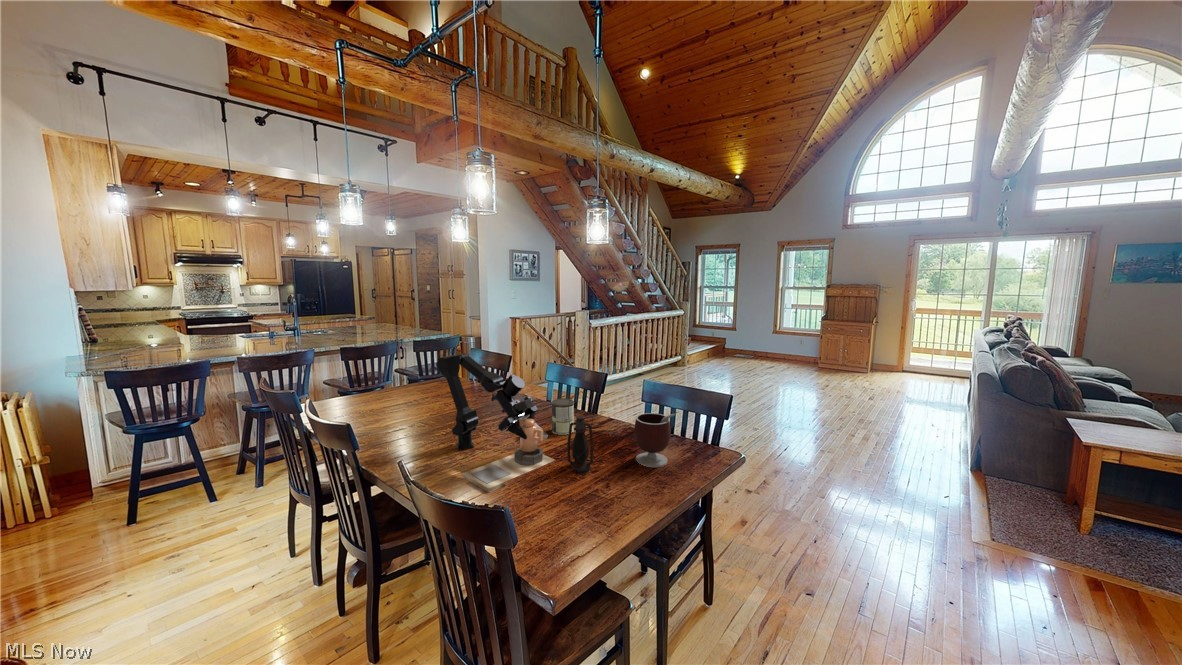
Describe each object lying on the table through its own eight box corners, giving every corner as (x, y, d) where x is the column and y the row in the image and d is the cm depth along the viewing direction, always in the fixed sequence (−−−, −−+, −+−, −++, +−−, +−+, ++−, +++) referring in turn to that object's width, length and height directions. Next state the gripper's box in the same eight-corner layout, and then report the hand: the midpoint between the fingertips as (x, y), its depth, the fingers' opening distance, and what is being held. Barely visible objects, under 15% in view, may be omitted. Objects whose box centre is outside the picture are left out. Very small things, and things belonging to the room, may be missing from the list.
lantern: (575, 476, 152) (575, 395, 148) (565, 467, 160) (565, 390, 155) (594, 471, 156) (595, 392, 152) (584, 463, 163) (585, 387, 159)
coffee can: (547, 431, 196) (546, 402, 194) (561, 425, 204) (561, 397, 202) (564, 436, 190) (564, 406, 188) (578, 430, 198) (578, 400, 196)
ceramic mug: (529, 445, 180) (529, 427, 179) (521, 438, 187) (521, 422, 186) (551, 440, 186) (551, 423, 185) (542, 434, 193) (543, 418, 192)
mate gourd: (629, 465, 162) (630, 414, 159) (638, 451, 175) (639, 404, 172) (670, 471, 157) (672, 419, 154) (676, 456, 170) (678, 408, 167)
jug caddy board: (529, 451, 173) (528, 441, 173) (555, 463, 163) (555, 452, 162) (463, 477, 152) (462, 465, 151) (488, 492, 141) (488, 480, 140)
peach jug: (516, 449, 161) (516, 421, 160) (527, 443, 167) (526, 416, 165) (537, 454, 157) (537, 426, 155) (546, 448, 163) (546, 420, 161)
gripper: (504, 397, 153) (529, 432, 150) (534, 385, 169) (557, 416, 166) (487, 414, 158) (511, 448, 154) (518, 401, 174) (540, 432, 171)
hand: (531, 435), depth 161 cm, fingers closed on peach jug, 6 cm apart
